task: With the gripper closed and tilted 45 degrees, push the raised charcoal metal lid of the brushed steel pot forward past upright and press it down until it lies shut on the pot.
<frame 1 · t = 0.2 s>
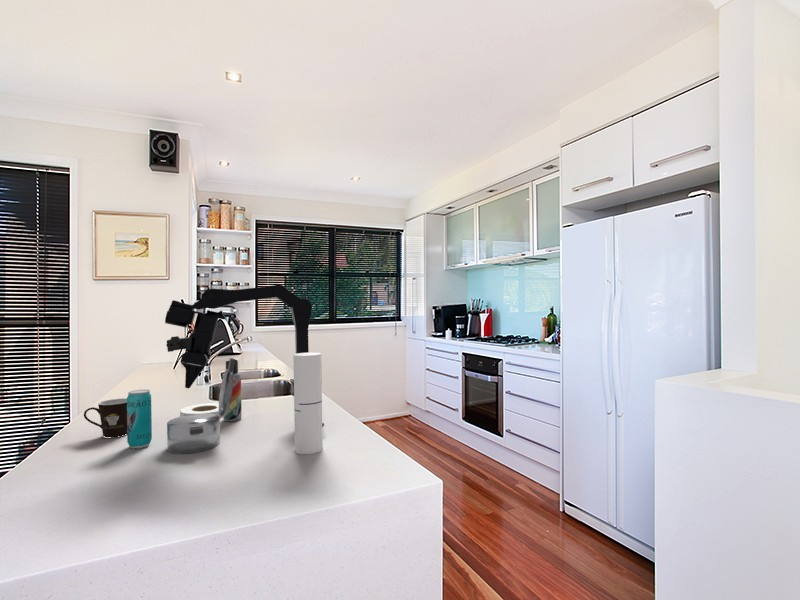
hand: (189, 385, 123), 16 cm above the worktop, tool pointing down, fingers open, 9 cm apart
roll of tape: (204, 416, 152), on the worktop
cylindrical container: (308, 450, 114), on the worktop
lid: (228, 386, 123), point 15 cm above the worktop, hinge at 100.0°
beverage can: (139, 447, 119), on the worktop
coffee mug: (111, 435, 130), on the worktop
pot: (194, 445, 119), on the worktop
lotion bottle: (232, 420, 145), on the worktop
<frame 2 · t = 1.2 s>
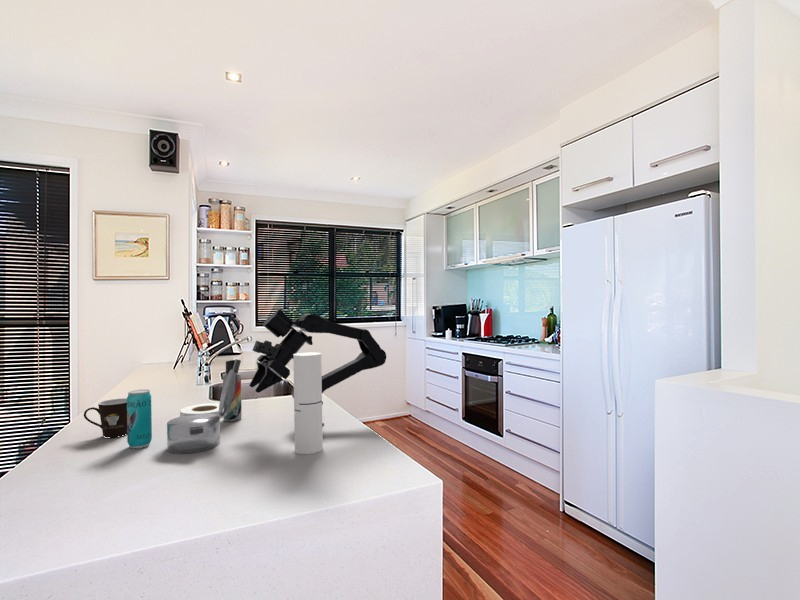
hand: (253, 389, 127), 14 cm above the worktop, tool tilted 40°, fingers open, 9 cm apart
lid: (231, 387, 124), point 15 cm above the worktop, hinge at 105.6°
everything else where it was.
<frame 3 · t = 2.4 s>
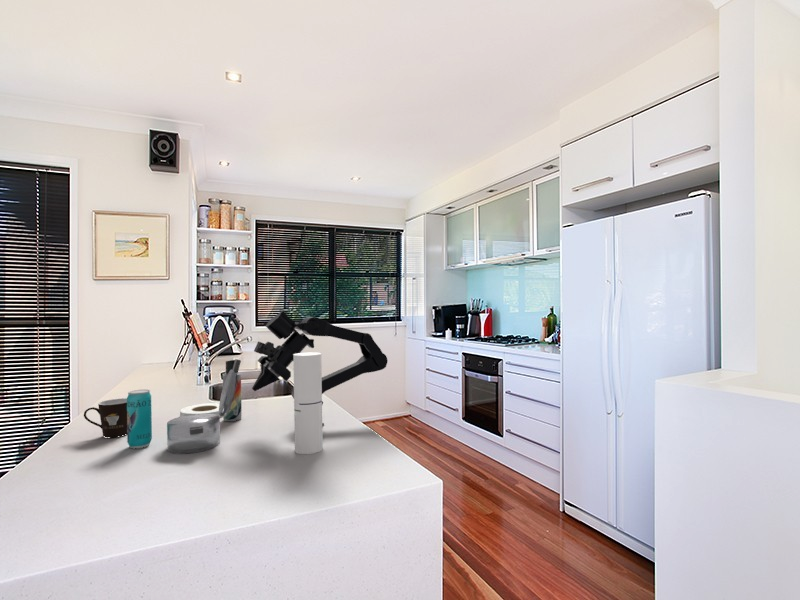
hand: (253, 390, 126), 13 cm above the worktop, tool tilted 45°, fingers closed
nothing on the worktop moved.
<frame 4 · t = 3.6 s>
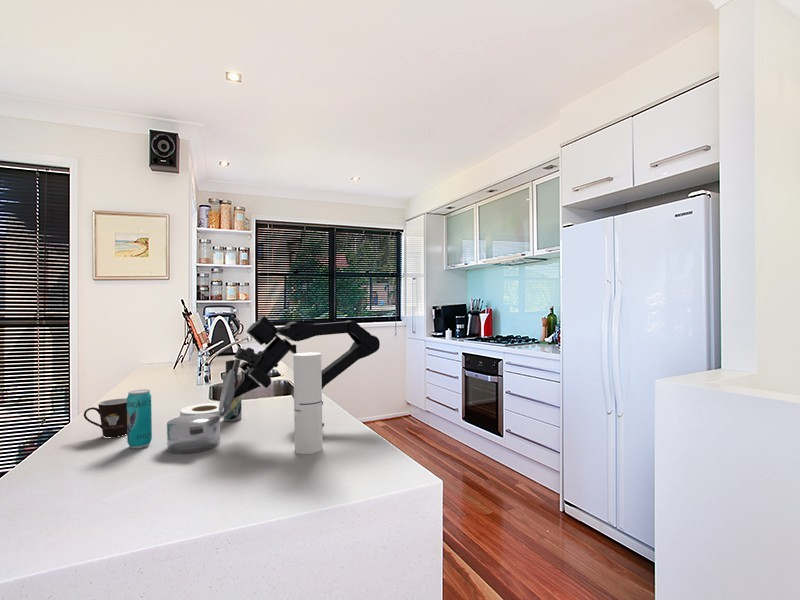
hand: (233, 396, 124), 12 cm above the worktop, tool tilted 45°, fingers closed, pressing on lid
lid: (231, 387, 124), point 15 cm above the worktop, hinge at 105.1°, touching gripper
everything else where it was.
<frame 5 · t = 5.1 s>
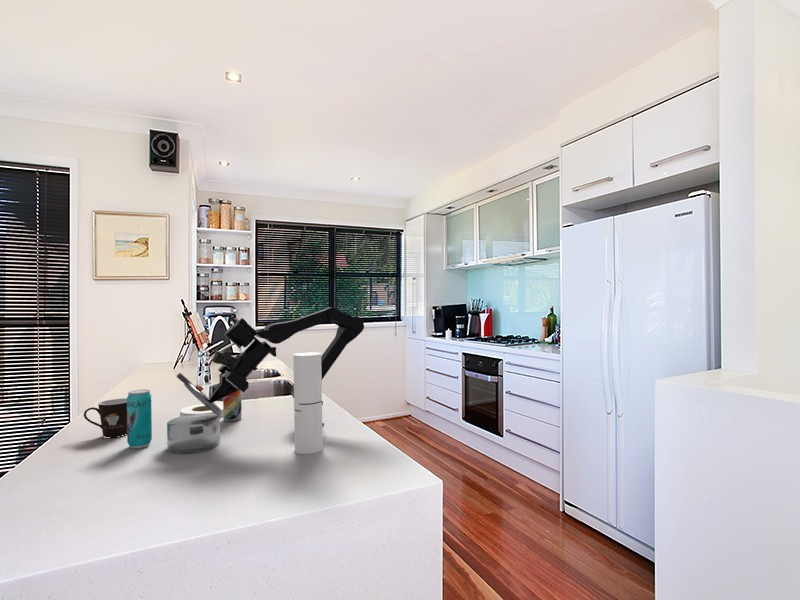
hand: (210, 401, 121), 12 cm above the worktop, tool tilted 45°, fingers closed, pressing on lid
lid: (201, 393, 120), point 14 cm above the worktop, hinge at 47.3°, touching gripper
everything else where it was.
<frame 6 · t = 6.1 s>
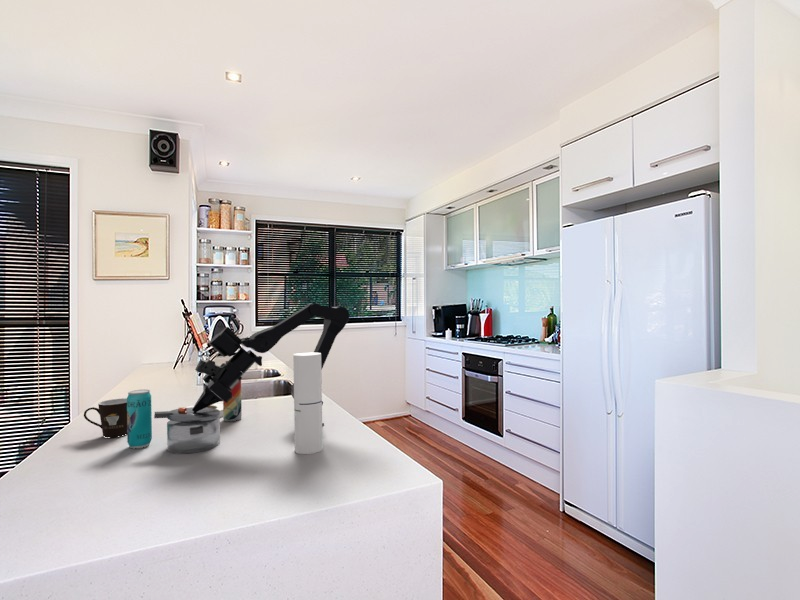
hand: (193, 411, 119), 9 cm above the worktop, tool tilted 45°, fingers closed, pressing on lid
lid: (188, 412, 118), point 9 cm above the worktop, hinge at 5.0°, touching gripper
everything else where it was.
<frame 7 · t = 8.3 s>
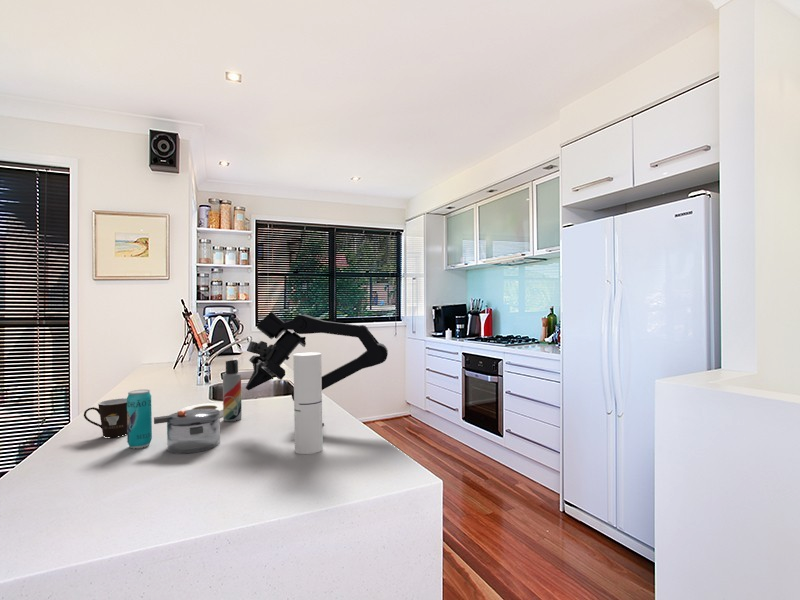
hand: (246, 389, 128), 13 cm above the worktop, tool tilted 45°, fingers closed
lid: (187, 415, 118), point 8 cm above the worktop, hinge at -0.1°
everything else where it was.
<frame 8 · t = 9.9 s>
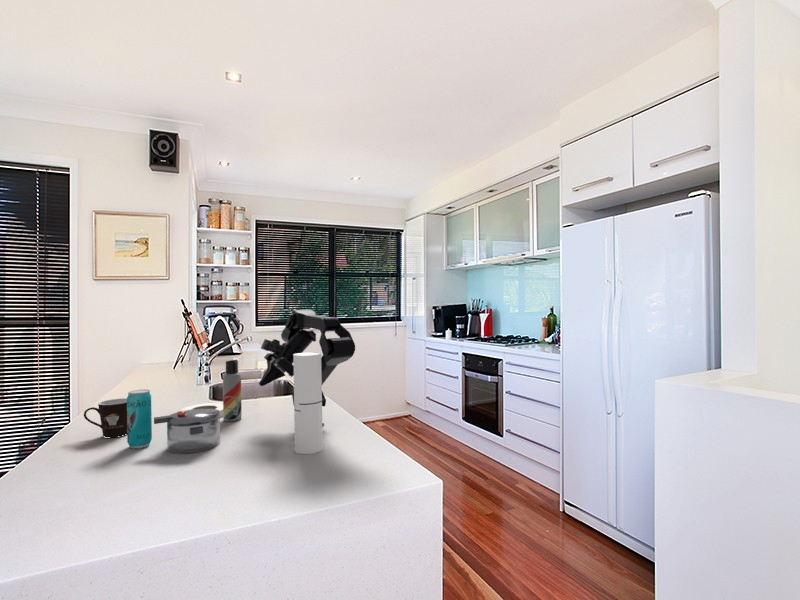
hand: (260, 385, 133), 14 cm above the worktop, tool tilted 45°, fingers closed
nothing on the worktop moved.
at the end: lid at +0° (first picture: +100°) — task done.
